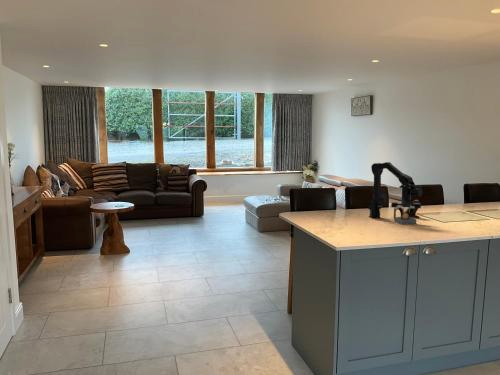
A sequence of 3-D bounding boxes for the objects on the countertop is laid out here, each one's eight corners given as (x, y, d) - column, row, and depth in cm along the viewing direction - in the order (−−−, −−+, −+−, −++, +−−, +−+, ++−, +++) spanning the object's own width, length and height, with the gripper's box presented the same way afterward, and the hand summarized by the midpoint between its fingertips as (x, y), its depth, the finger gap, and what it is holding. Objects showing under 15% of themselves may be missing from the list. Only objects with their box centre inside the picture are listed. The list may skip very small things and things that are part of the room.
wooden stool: (403, 220, 293) (403, 208, 292) (393, 219, 295) (394, 208, 294) (403, 218, 299) (403, 207, 298) (393, 218, 301) (394, 207, 300)
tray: (402, 224, 278) (402, 219, 278) (394, 221, 288) (394, 217, 288) (416, 223, 280) (416, 219, 279) (408, 221, 290) (408, 216, 289)
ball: (404, 219, 282) (404, 213, 281) (401, 218, 285) (401, 212, 285) (409, 219, 282) (409, 213, 282) (406, 218, 286) (406, 212, 286)
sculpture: (418, 218, 299) (419, 200, 298) (400, 216, 307) (401, 198, 306) (420, 217, 304) (421, 199, 302) (402, 215, 312) (403, 198, 310)
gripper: (391, 195, 277) (390, 218, 279) (421, 197, 271) (420, 220, 273) (391, 193, 288) (390, 216, 290) (420, 194, 282) (419, 217, 284)
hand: (405, 217), depth 284 cm, fingers closed on ball, 4 cm apart
